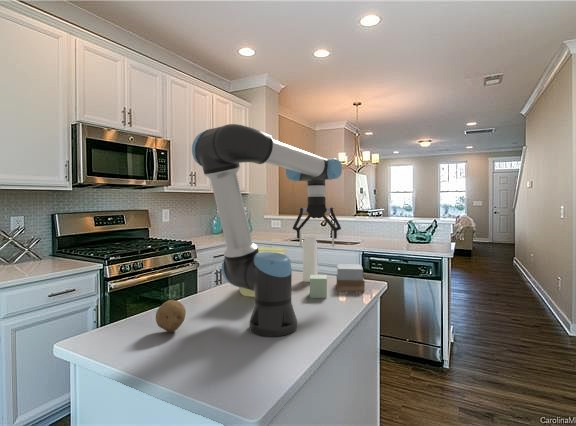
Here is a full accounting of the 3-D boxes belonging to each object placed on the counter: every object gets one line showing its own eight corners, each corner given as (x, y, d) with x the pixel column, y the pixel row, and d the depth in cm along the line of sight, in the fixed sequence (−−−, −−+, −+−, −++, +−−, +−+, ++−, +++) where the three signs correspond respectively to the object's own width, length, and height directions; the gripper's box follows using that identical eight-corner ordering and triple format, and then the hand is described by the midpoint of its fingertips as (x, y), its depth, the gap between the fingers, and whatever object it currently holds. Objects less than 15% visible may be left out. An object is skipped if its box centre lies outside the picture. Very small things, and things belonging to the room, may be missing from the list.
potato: (184, 337, 102) (183, 304, 102) (152, 339, 101) (152, 306, 100) (187, 326, 111) (186, 295, 111) (158, 328, 110) (157, 297, 109)
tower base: (364, 292, 151) (364, 280, 151) (337, 291, 152) (336, 280, 152) (362, 285, 163) (362, 274, 162) (336, 284, 164) (336, 274, 164)
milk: (314, 282, 168) (314, 237, 167) (302, 281, 170) (302, 237, 169) (317, 279, 174) (317, 236, 172) (306, 278, 176) (305, 235, 174)
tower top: (363, 280, 151) (363, 269, 151) (337, 280, 153) (337, 268, 152) (360, 274, 162) (360, 264, 162) (337, 274, 163) (337, 264, 163)
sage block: (326, 298, 141) (326, 278, 141) (309, 297, 142) (309, 278, 142) (326, 293, 148) (326, 275, 148) (310, 293, 149) (310, 274, 149)
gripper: (346, 195, 146) (346, 245, 147) (287, 196, 149) (288, 245, 150) (347, 195, 139) (347, 247, 140) (286, 196, 141) (286, 247, 142)
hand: (316, 246), depth 145 cm, fingers open, 13 cm apart
